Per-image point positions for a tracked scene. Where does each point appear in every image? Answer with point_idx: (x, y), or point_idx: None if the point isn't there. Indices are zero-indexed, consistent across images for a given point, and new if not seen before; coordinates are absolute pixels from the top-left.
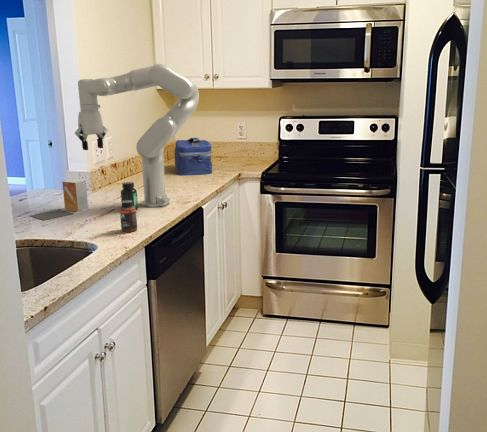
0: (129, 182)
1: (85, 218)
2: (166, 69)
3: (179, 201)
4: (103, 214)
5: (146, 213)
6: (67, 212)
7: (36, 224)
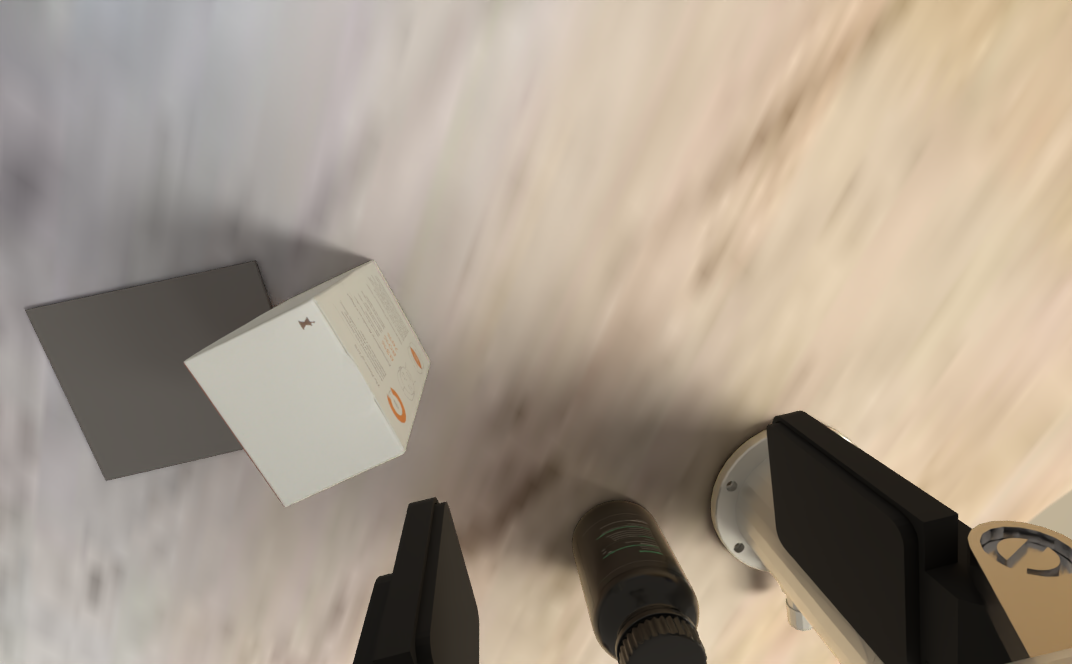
0: (684, 657)
1: (343, 567)
2: None
3: None
4: None
5: None
6: None
7: (58, 538)
